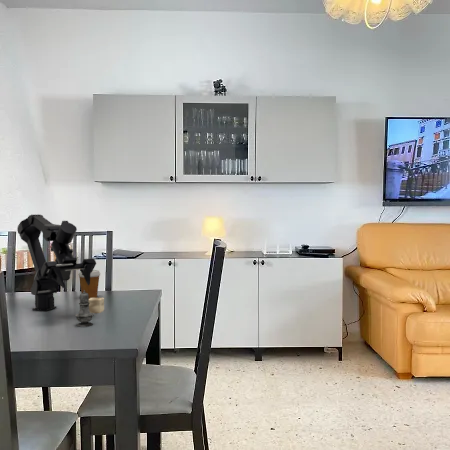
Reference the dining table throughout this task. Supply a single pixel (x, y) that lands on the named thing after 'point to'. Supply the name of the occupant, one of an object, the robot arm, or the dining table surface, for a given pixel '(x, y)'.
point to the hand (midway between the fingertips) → (76, 285)
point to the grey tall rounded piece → (84, 311)
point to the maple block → (96, 305)
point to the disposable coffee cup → (93, 286)
